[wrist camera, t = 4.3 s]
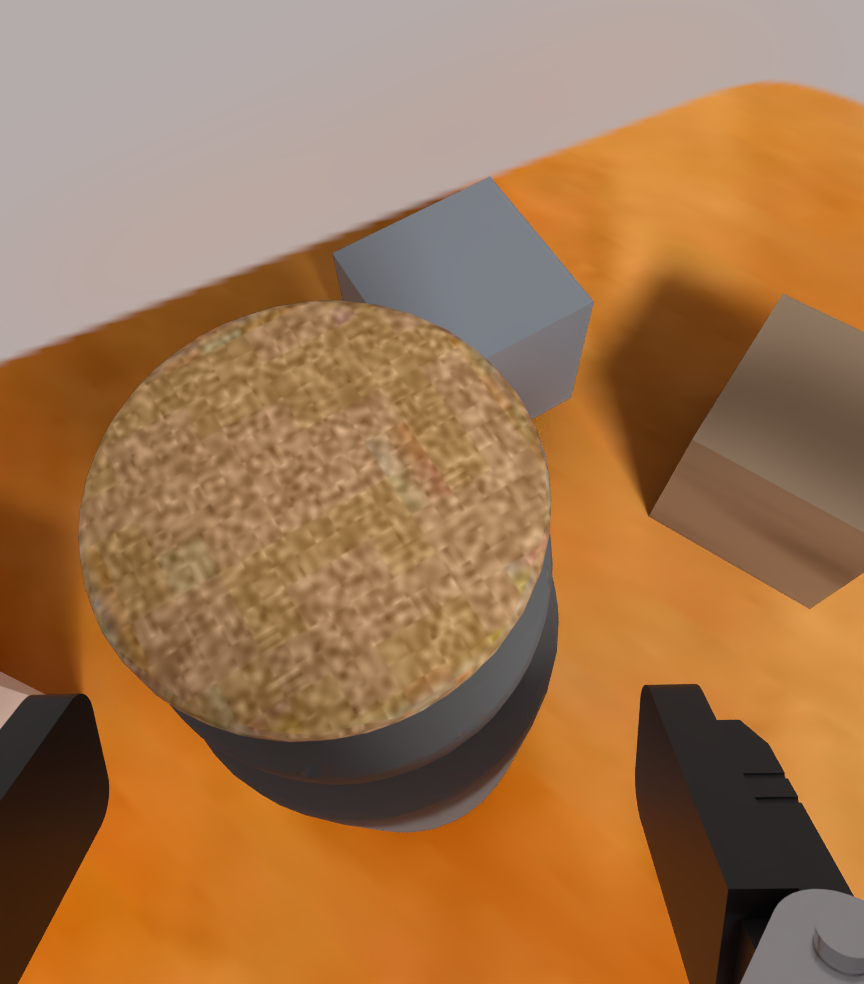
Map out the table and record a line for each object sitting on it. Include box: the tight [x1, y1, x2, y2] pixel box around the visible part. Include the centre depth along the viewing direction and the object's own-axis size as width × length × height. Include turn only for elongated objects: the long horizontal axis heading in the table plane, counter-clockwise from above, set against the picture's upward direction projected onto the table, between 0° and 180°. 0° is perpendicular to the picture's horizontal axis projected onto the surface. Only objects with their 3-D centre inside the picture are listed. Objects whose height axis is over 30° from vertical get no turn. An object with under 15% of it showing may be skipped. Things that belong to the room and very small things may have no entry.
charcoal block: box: [332, 177, 594, 420], centre depth 24 cm, size 5×5×5 cm
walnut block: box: [649, 294, 864, 609], centre depth 22 cm, size 5×5×5 cm
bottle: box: [78, 300, 559, 832], centre depth 15 cm, size 6×6×15 cm
